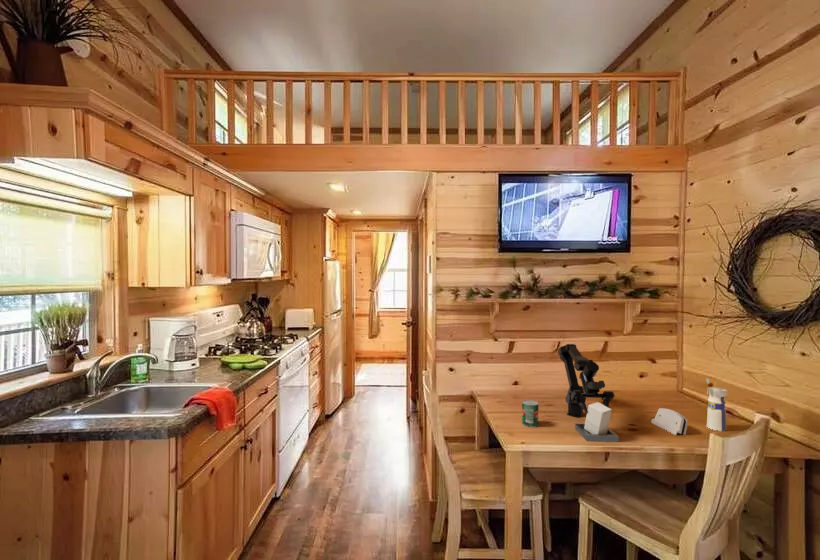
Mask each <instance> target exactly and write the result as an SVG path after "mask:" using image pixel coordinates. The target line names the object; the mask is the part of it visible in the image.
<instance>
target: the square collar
mask: <svg viewBox="0 0 820 560" xmlns="http://www.w3.org/2000/svg"><path fill="white" fill-rule="evenodd" d="M584 426H585V423H575V425H574V430H575V431H577V432H578V434H579V435H580V436H581V437H582V438H583V439H584V440H585V441H586V442H606V443H611V442H612V443H619V441H620V440H619V435H618V434H617V433H616V432H614V431H613V430H612V429H611V428H609V427H608V430H607V434H591V433H590V432H588V431H587V430H585V429H584Z"/></svg>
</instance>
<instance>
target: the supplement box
mask: <svg viewBox="0 0 820 560" xmlns="http://www.w3.org/2000/svg"><path fill="white" fill-rule="evenodd" d="M587 411H588V413H586V417H585V421H584V424H585V426H584V429H585V430H587V431H588V432H590V433H591V434H607V430H608V428H609V424H610V420H611V414H612V408H610V407H609V408H608V407H606V406H604V405H603V403H602V402H601V403H600V402H599V401H597V402H593V403H591V404H588V406H587Z"/></svg>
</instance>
